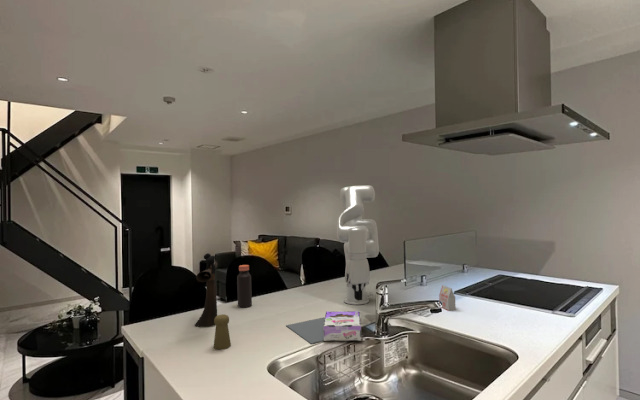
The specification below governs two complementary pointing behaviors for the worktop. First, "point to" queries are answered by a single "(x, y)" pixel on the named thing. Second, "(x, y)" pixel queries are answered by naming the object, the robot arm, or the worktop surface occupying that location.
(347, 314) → the candy box
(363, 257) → the robot arm
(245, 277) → the bottle
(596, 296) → the worktop surface
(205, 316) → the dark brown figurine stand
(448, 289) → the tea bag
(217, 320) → the olive game pawn
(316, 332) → the mat
